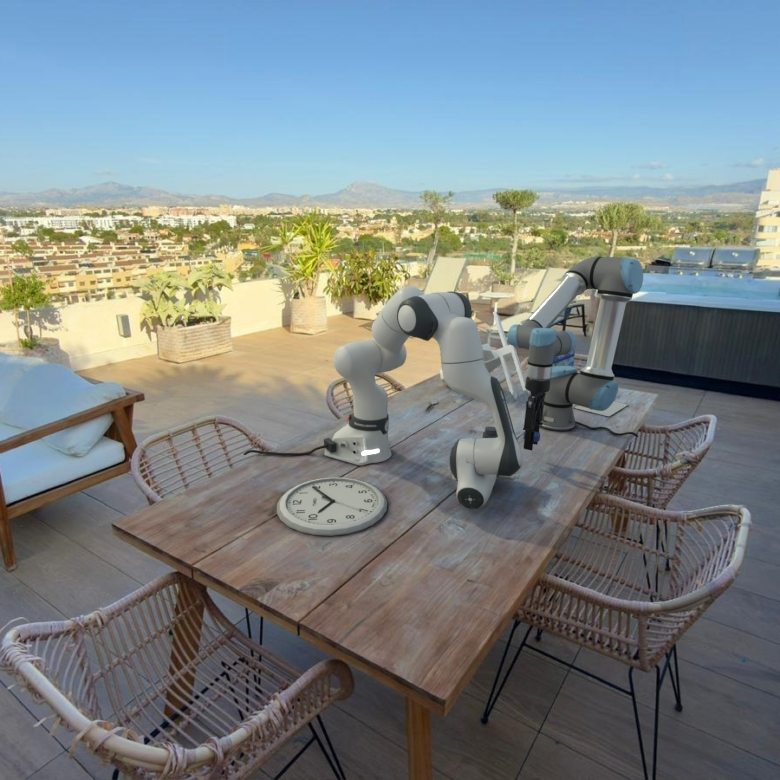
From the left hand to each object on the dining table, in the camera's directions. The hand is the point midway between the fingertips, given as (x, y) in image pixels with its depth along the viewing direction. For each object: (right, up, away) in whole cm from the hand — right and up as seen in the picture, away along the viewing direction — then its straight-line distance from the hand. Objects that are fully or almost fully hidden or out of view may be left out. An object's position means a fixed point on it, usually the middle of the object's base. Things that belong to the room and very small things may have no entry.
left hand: (489, 454), depth 161 cm
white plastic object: (+11, +19, +82) cm, 85 cm away
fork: (-13, +13, +61) cm, 64 cm away
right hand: (+15, +2, +9) cm, 18 cm away
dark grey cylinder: (0, -6, +1) cm, 6 cm away
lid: (+15, +6, +8) cm, 18 cm away
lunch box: (+47, +21, +90) cm, 104 cm away
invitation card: (+61, +13, +65) cm, 90 cm away
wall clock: (-47, -12, -19) cm, 51 cm away
